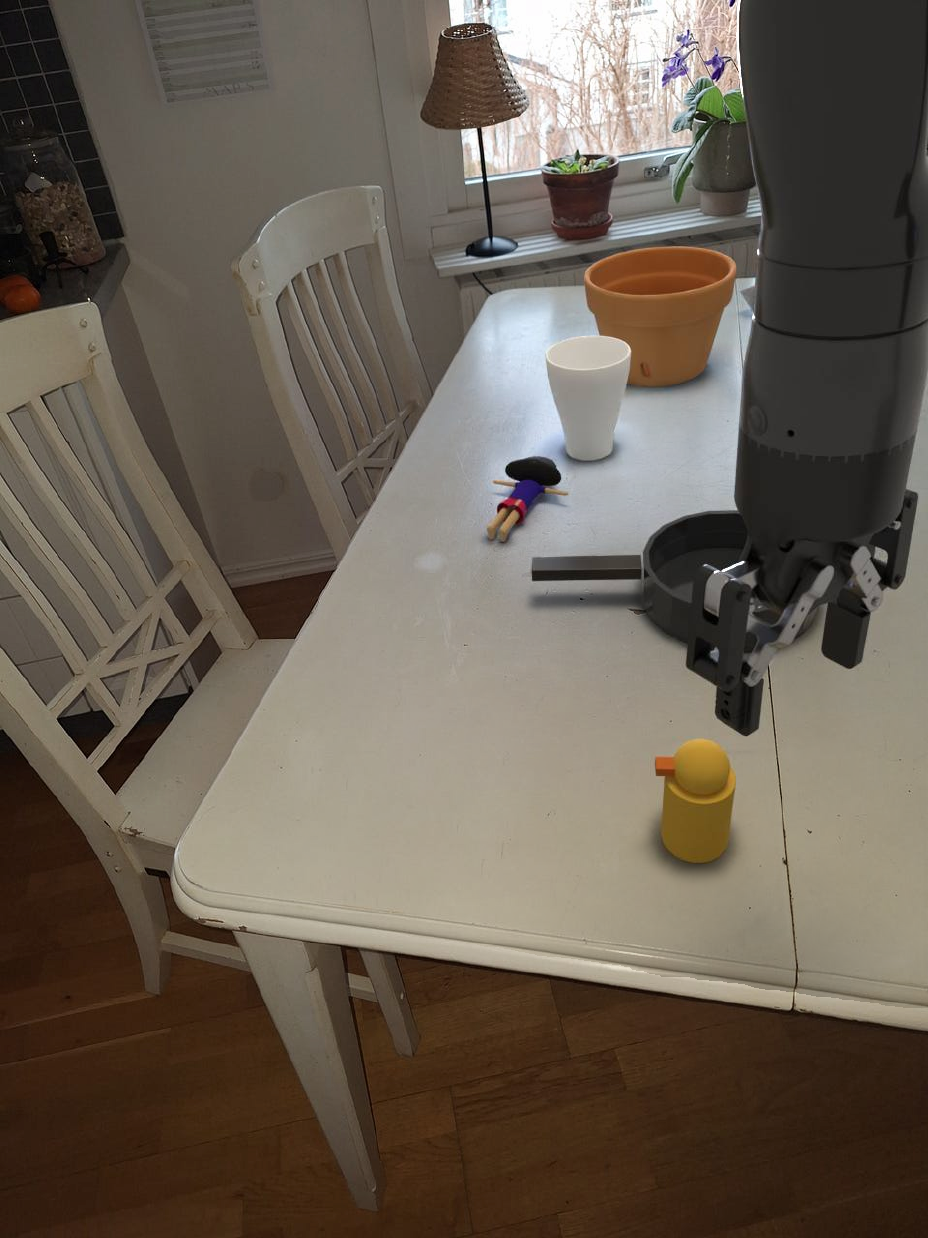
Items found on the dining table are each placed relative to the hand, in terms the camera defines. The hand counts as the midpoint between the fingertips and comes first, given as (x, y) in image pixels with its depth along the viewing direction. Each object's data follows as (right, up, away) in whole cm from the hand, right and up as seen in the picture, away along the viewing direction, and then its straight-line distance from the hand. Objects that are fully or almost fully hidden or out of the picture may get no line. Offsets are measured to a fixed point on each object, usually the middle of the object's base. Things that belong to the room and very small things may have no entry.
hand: (791, 692), depth 49 cm
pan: (+9, +6, +42) cm, 43 cm away
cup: (-2, +26, +68) cm, 73 cm away
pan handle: (-6, +9, +42) cm, 43 cm away
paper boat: (+32, +54, +97) cm, 115 cm away
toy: (-11, +17, +59) cm, 62 cm away
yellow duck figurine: (0, -13, +20) cm, 23 cm away
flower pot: (+11, +42, +86) cm, 96 cm away
